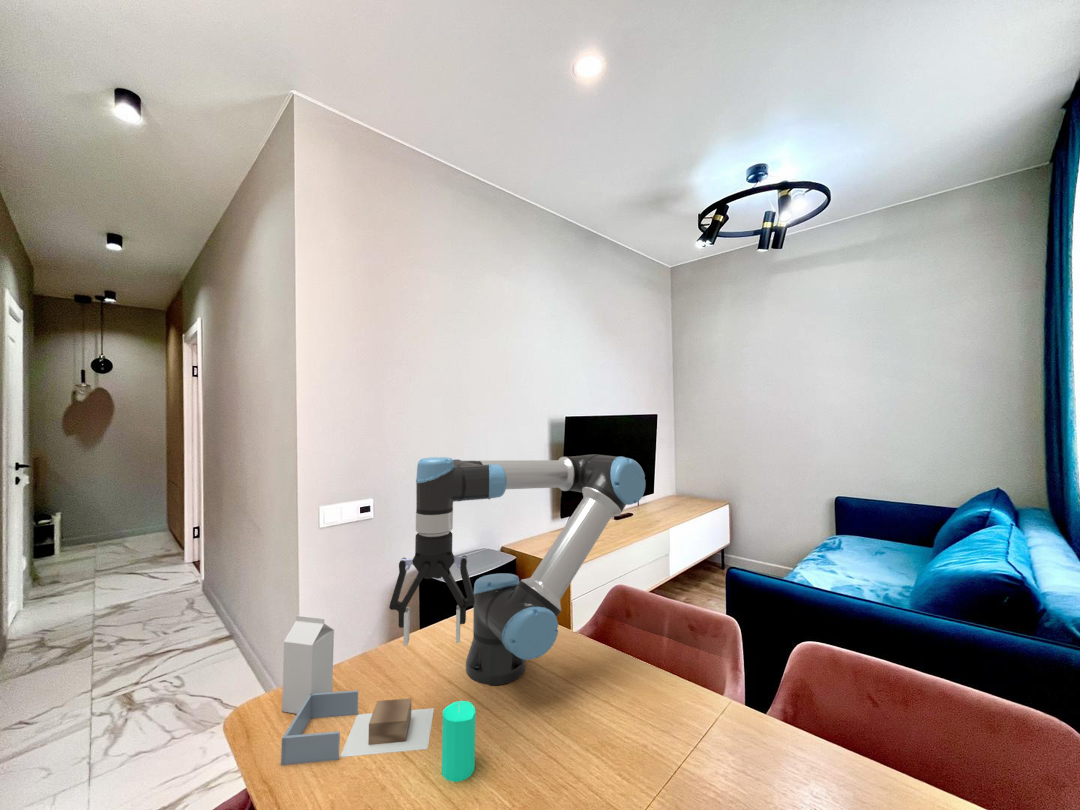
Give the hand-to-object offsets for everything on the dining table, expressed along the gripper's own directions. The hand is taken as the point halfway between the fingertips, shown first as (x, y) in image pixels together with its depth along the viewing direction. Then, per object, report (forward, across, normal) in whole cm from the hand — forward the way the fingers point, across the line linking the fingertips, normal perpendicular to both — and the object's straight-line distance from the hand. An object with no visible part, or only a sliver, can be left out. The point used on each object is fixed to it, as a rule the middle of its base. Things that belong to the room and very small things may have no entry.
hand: (432, 640), depth 90 cm
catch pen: (+18, +21, 0) cm, 27 cm away
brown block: (+17, +8, 0) cm, 19 cm away
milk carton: (+18, +28, -11) cm, 35 cm away
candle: (+18, -6, +12) cm, 22 cm away
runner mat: (+18, +8, 0) cm, 19 cm away
